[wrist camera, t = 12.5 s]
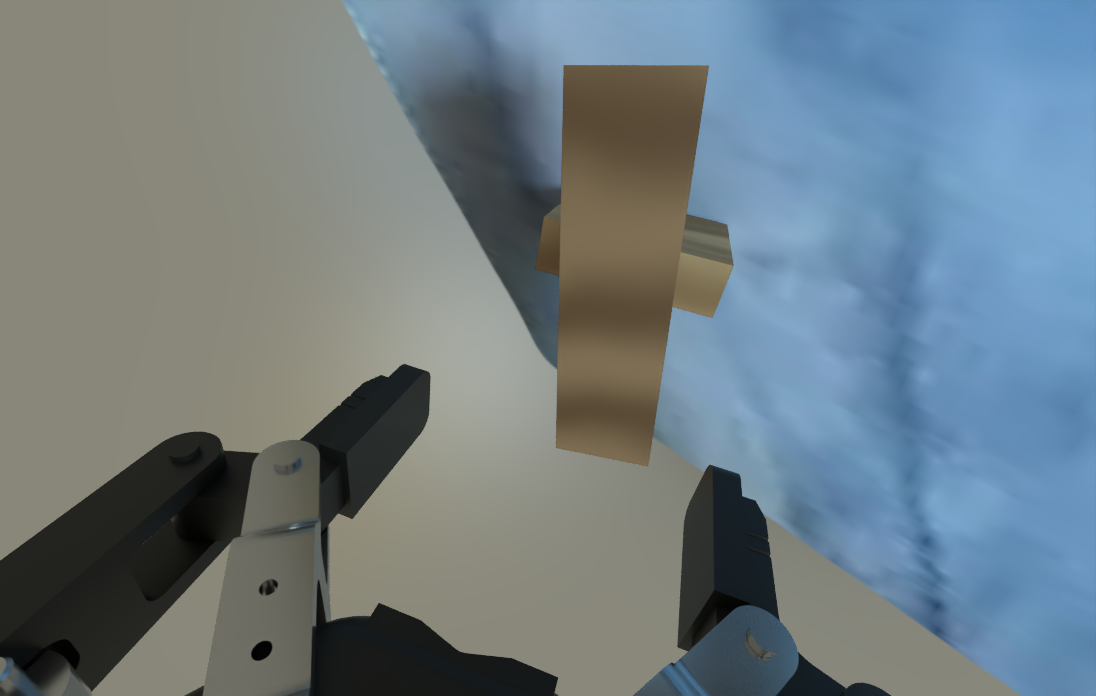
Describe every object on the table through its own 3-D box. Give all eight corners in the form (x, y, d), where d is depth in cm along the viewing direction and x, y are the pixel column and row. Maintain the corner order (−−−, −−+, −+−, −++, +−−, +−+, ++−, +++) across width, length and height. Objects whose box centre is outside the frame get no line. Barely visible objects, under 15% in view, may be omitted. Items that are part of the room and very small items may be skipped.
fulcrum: (577, 188, 32) (543, 217, 25) (727, 224, 30) (733, 265, 23) (569, 231, 33) (535, 269, 27) (710, 267, 32) (712, 318, 25)
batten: (591, 68, 21) (563, 65, 17) (707, 68, 20) (708, 65, 16) (576, 396, 30) (555, 447, 26) (656, 410, 29) (648, 466, 25)
